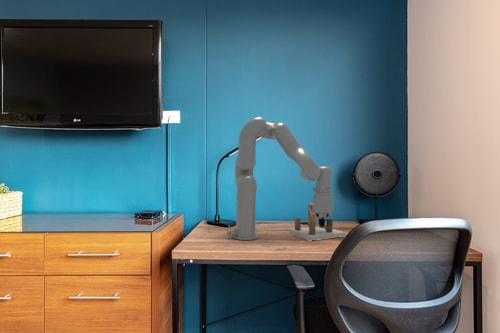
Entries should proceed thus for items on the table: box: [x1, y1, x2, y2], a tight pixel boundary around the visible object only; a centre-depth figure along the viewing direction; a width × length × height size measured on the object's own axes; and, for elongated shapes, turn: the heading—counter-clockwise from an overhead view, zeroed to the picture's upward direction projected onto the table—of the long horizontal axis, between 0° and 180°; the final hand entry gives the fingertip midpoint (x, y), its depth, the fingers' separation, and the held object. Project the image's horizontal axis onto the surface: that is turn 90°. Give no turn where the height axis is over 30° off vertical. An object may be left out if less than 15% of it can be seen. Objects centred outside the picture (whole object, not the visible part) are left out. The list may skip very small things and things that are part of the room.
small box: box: [307, 202, 323, 226], centre depth 203 cm, size 8×6×13 cm
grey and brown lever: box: [324, 218, 334, 232], centre depth 179 cm, size 11×3×6 cm, turn 177°
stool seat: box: [289, 216, 346, 241], centre depth 177 cm, size 22×18×8 cm
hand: (321, 226), depth 175 cm, fingers closed
